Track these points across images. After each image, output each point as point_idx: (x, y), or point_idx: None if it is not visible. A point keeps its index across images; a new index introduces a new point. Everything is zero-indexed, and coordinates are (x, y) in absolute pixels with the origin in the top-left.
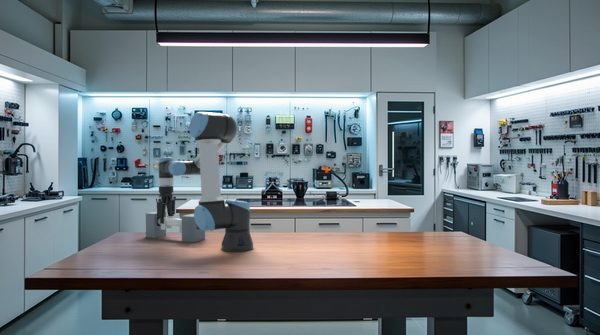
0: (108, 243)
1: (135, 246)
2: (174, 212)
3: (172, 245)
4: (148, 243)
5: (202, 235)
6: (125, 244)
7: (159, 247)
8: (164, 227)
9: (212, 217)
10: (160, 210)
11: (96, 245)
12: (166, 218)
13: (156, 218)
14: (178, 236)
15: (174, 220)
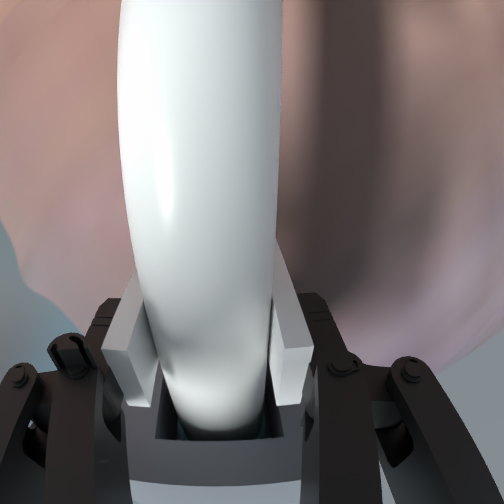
0: (437, 357)
1: (495, 213)
2: (7, 389)
3: (435, 9)
4: (437, 198)
5: None
6: (460, 290)
7: (491, 68)
8: (279, 253)
9: None
10: (478, 452)
11: (464, 356)
12: (234, 345)
13: (294, 421)
14: (120, 167)
15: (266, 103)
